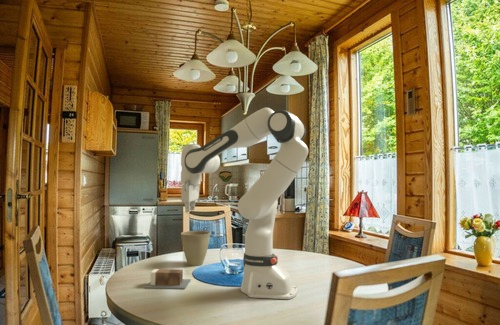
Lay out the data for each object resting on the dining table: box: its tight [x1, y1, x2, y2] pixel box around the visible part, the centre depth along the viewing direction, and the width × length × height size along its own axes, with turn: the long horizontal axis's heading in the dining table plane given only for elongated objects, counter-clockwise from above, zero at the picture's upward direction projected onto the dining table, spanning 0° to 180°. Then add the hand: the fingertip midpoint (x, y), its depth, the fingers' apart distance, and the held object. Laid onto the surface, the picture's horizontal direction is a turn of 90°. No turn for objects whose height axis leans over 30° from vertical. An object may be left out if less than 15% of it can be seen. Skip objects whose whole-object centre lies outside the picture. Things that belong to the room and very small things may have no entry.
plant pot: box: [180, 230, 211, 267], centre depth 171 cm, size 15×15×16 cm
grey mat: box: [144, 278, 191, 290], centre depth 138 cm, size 16×11×1 cm
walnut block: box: [149, 268, 184, 285], centre depth 138 cm, size 5×5×12 cm
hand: (190, 211), depth 150 cm, fingers open, 8 cm apart
